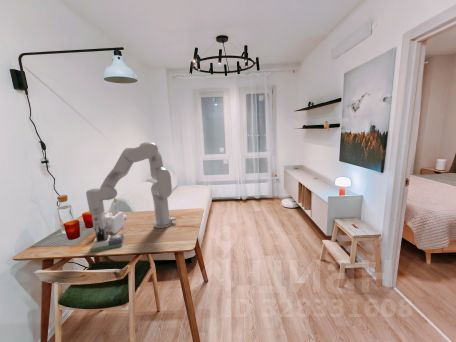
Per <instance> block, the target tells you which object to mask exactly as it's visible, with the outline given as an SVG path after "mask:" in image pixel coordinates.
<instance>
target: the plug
mask: <svg viewBox="0 0 456 342" xmlns="http://www.w3.org/2000/svg"><path fill="white" fill-rule="evenodd" d="M99 229H100V228H99ZM99 231H101V230H99ZM102 232H103V235H104V240H100V241H98V237H97V233H96V230H94V233H95V238H96V239H97V242H101V241H107V236H108V234H107V232H106V228H104V229H102Z"/></svg>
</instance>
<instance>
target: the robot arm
mask: <svg viewBox="0 0 456 342" xmlns="http://www.w3.org/2000/svg"><path fill="white" fill-rule="evenodd" d="M147 159H148V162H149V168H150V177H151V179H152V180H154V181H156V182H154V183H153V184H151V187H150V192H151V196H152V199H153V207H154V208H153V209H154V216H155V222H154V225H153V226H154V227H155V228H157V229H164V228H168V227H170V226H172V225H173V222H174V221H175V222H176V221H177V218H176V217H174V216H172V217H171V215H170V210H169V201H168V200H169V199H168V198H170V196H171V194H172V191H173V187H172V186H173V185H172V176H171V172H170V171H169V170H168V169H166V168H165V167H164V163H163V158H162V155H161V153H160V151H159V147H158V145H157V144H155V143H154V142H142V143H140V144H139V146H137V147H128V148H127V147H126V148H125V149H123V150H122V152H121V153H120V156H119V158H118V159H117V161H116V163H115V165H114V166H113V168H112V169H111V170H110V172H109V173H108V174H107V176H106V177H105V179H103V182H102V184H101V186H100V188H91V189H89V190H86V193H85V195H86V200H87V206H88V211H89V214H90V215H91V221H92V226H93V230H94V231H96V233H97V237H98V241H100V240H104V235H103V232H102V229H104V228H105V226H106V223H107V222H106V218H105V215H106V213H105V205H104V201H110V200H114V198H116V197H117V196H118V191H117V189H116V188H115V187H116V185H117V184H118V182H119V181H120V180H121V179H123V178H125V177H126V176H127V175H128V174H129V171H130V170H131V169H132V168H131V167H132V166H133V164H134V163H138V162H142V161H144V160H147ZM99 228H100V229H99ZM99 230H101V231H99Z"/></svg>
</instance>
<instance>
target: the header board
mask: <svg viewBox="0 0 456 342" xmlns="http://www.w3.org/2000/svg"><path fill="white" fill-rule="evenodd" d="M124 240H125V235H124V233H119V234H114V235H111V234H110V235H109V234H107V241H101V242H97V239H96V237H95V238H94V240H93V242H92V248H91V250H90V252H91V253H95V251H96V252H100V251H99V250H101V251H105V250H104V249H106V250H110V248H111V249H116V248H120V247H123V244H124V243H123V242H124Z"/></svg>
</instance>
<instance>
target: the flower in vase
mask: <svg viewBox="0 0 456 342" xmlns="http://www.w3.org/2000/svg"><path fill="white" fill-rule="evenodd" d="M112 205H113V207H114V209H115V212H114V214H112V216H115V215H116V214H118V213H119V212H120V210H119V209H120V208H119V205H120V202H119V201H118V199H117V198H116V197H115V198H113V203H112ZM123 215H124V220H126V218H127V215H126V214H125V213H123Z"/></svg>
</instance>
